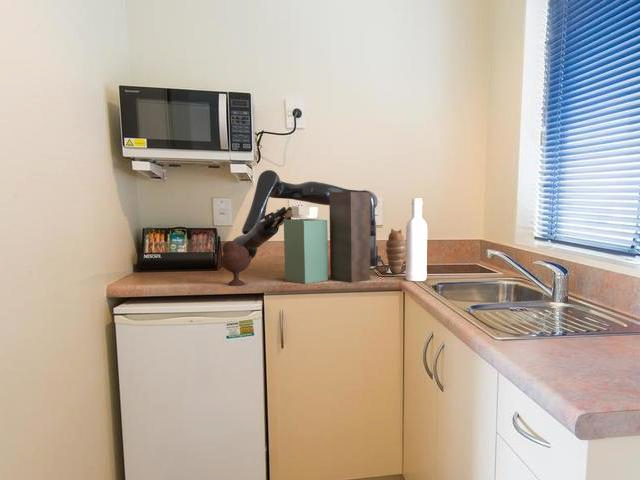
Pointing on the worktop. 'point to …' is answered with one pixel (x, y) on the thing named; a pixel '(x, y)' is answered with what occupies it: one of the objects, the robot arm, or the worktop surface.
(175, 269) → the worktop surface
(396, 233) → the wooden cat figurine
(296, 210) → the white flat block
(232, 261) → the ice cream bowl
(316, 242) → the box
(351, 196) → the stand
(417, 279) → the bottle
